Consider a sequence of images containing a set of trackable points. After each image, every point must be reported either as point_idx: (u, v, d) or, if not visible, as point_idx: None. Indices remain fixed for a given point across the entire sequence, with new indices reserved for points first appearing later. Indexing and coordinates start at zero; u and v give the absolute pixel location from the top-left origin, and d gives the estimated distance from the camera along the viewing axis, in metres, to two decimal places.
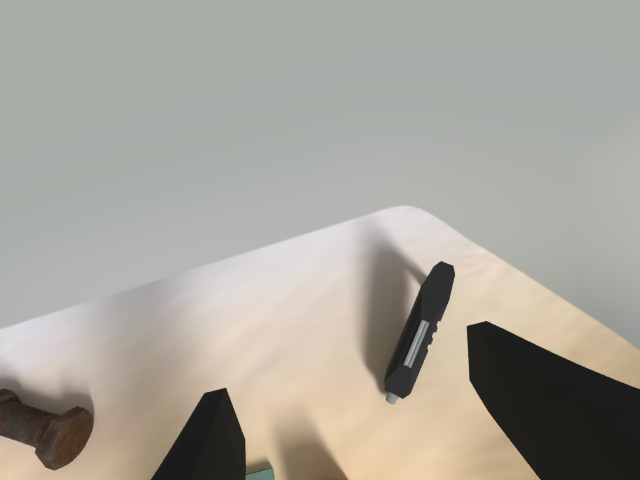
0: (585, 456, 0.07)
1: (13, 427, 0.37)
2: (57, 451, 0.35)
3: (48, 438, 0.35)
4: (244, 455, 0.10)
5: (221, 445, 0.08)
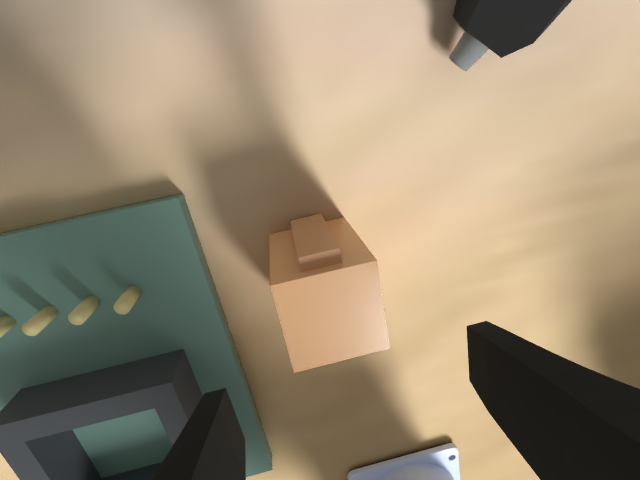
0: (585, 456, 0.07)
1: None
2: None
3: None
4: (244, 455, 0.10)
5: (221, 445, 0.08)
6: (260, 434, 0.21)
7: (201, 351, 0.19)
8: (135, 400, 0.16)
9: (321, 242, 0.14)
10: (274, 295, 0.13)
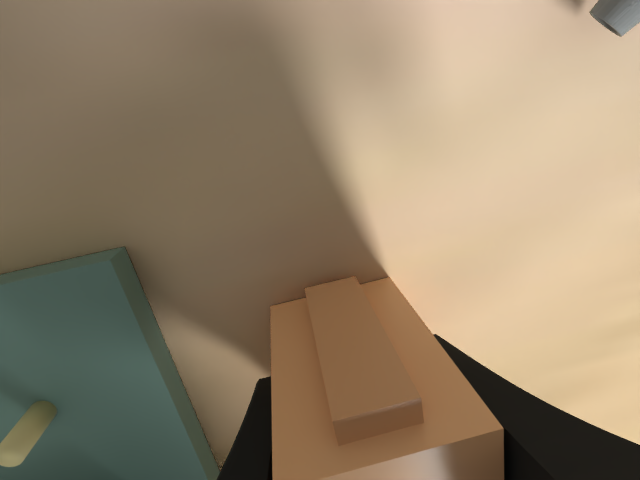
0: (509, 478, 0.07)
1: None
2: None
3: None
4: None
5: None
6: None
7: None
8: None
9: (374, 367, 0.07)
10: None
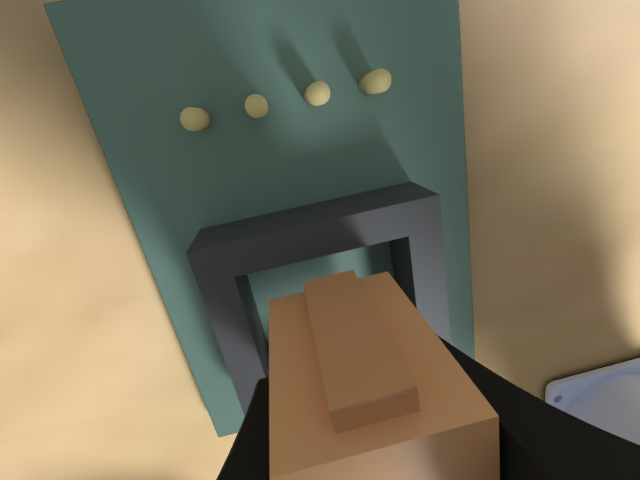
0: (509, 478, 0.07)
1: None
2: None
3: None
4: None
5: None
6: (471, 319, 0.17)
7: (431, 187, 0.14)
8: (387, 221, 0.12)
9: (371, 356, 0.07)
10: None
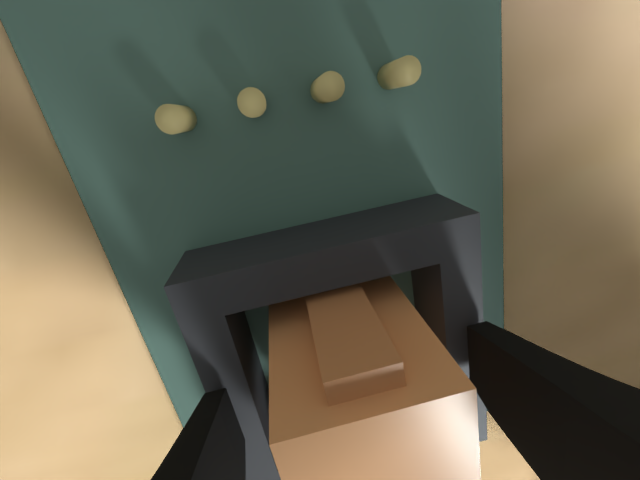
0: (585, 456, 0.07)
1: None
2: None
3: None
4: (244, 455, 0.10)
5: (221, 445, 0.08)
6: None
7: (461, 200, 0.12)
8: (415, 245, 0.09)
9: (362, 338, 0.08)
10: (277, 460, 0.07)
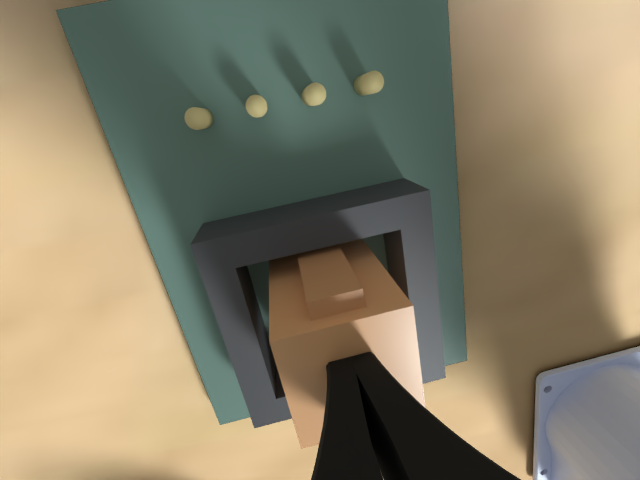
0: None
1: None
2: None
3: None
4: None
5: None
6: (463, 310, 0.17)
7: (423, 183, 0.15)
8: (380, 215, 0.12)
9: (337, 277, 0.11)
10: (275, 354, 0.09)
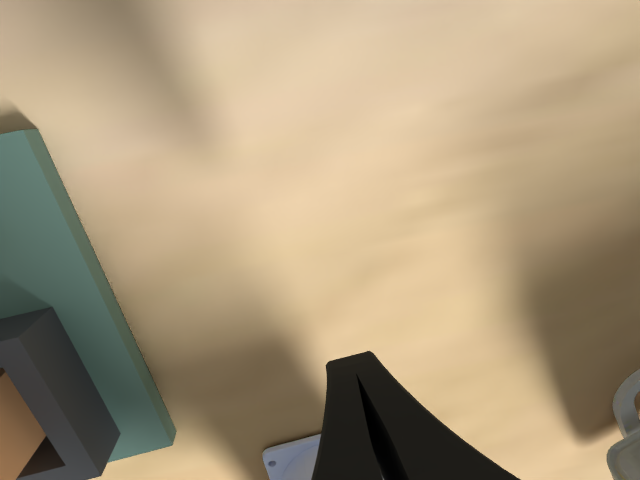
0: None
1: None
2: None
3: None
4: None
5: None
6: (154, 405, 0.20)
7: (73, 310, 0.17)
8: None
9: None
10: None
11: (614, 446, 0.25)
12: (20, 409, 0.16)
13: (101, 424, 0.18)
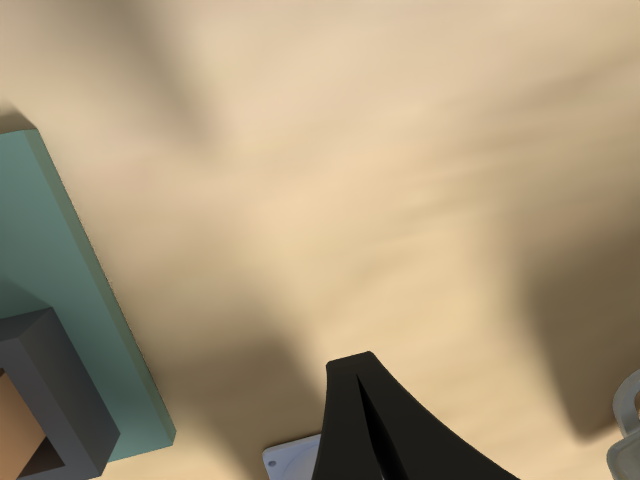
0: None
1: None
2: None
3: None
4: None
5: None
6: (154, 406, 0.20)
7: (73, 310, 0.17)
8: None
9: None
10: None
11: (614, 446, 0.25)
12: (20, 409, 0.16)
13: (101, 424, 0.18)
